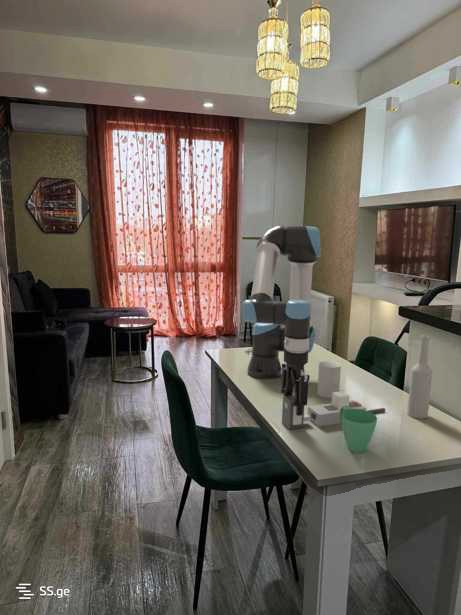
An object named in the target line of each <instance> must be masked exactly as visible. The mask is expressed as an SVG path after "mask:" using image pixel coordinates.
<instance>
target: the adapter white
mask: <svg viewBox="0 0 461 615" xmlns="http://www.w3.org/2000/svg"><path fill="white" fill-rule="evenodd" d="M349 401H350V395H349V394H348V393H346V392H344V391H342V390H341V391H339V392H333V393H332V398H331V403H332V406H334V407H336V408H337V409H338V410H341V409H342V407H343V406H349Z"/></svg>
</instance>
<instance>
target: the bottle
mask: <svg viewBox="0 0 461 615" xmlns="http://www.w3.org/2000/svg"><path fill="white" fill-rule="evenodd" d="M420 337H421V339H420V346H419V348H420V349H419V356H418V360H417V361H418V362H417V363H416V364H415V365H414V366H412V368H411V374H410V383H409V390H408V391H409V393H408V399H407V400H408V401H407V410H406V411H407V412H406V414H407V415H408V416H409V417H411V418H415V419H421V420H424V419H423V418H425V419H427V418H428V417H429V408H430V401H431V400H430V397H431V390H432V380H433V379H432V378H433V371H432V369H431V368H430V366H429V365H428V357H429V355H428V354H429V344H430V338H431V337H430V336H429V335H427V334H421V335H420Z"/></svg>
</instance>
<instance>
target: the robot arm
mask: <svg viewBox="0 0 461 615" xmlns="http://www.w3.org/2000/svg"><path fill="white" fill-rule="evenodd" d="M320 234H321V233H320V229H319V227H316V226H308V225H277V226H274V227H272V228H270V229H269V230H267V231H266V232H264V233H263V235H262V236H261V237H260V238H259V239H258V241H257V244H256V247H255V255H256V264H255V270H254V276H253V283H252V287H251V288H252V289H251V295H250V299H245V300H244V301H243V303H242V312H241V313H242V319H243V321H244V322H246V323H252V324H253V326H252V332H251V335H252V340H251V341H252V344H251V357H250V361H249V363H248V365H247V370H246V373H247V372H248V373H247V374H248V375H249V376H251V377H254V378H256V379H257V378H258V379H267V380H268V379H276V378H279V377H281V388H280V389H281V390H280V392H281V394H283V396H291V395H295V404H293V405H294V408H293V425H298V424H301V422H302V409H303V406H304V407H305V406H307V405H308V398H309V382H310V378H311V377H310V375H309V374H307V373H306V372H305V365H306V364H308V363H309V353H311V352H312V350H313V348H314V344H315V338H316V332H317V331H316V330H317V329H316V327H315V325H313V324H314V323H313V321H312V320H311V315H312V309H311V308H312V307H311V299H312V298H311V297H312V296H311V295H312V284H313V283H312V281H313V269H314V268H313V267H314V264H316V263H317V261H318V258H320V257H321V256H322V250H321V249H322V248H321V238H320V237H321V235H320ZM281 256H286V257H287V262H288V263H289V264H290V279H289V280H290V281H289V282H290V284H289V300H288V301H276V300H275V301H274V300H273V298H274V292H275V291H274V289H275V281H276V272H277V265H278V264H277V263H278V260H279V259H280V257H281ZM279 352H283V361H284V363H281V361H280V358H279ZM293 392H294V393H293Z"/></svg>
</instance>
